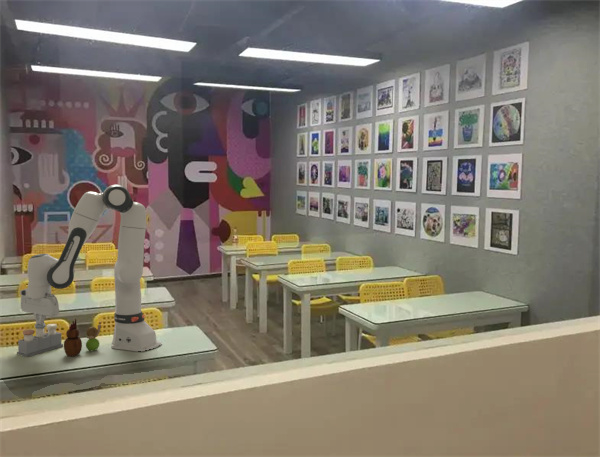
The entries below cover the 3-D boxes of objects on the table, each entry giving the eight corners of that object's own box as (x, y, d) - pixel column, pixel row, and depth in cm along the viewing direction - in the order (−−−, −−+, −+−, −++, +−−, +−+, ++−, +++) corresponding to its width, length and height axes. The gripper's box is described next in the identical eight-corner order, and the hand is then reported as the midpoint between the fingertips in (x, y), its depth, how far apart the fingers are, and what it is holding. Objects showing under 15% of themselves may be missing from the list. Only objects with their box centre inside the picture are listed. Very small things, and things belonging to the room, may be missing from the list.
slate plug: (47, 342, 221) (47, 323, 220) (39, 344, 217) (39, 325, 217) (41, 340, 223) (41, 322, 222) (33, 343, 219) (32, 324, 219)
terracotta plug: (36, 349, 216) (35, 330, 216) (27, 351, 213) (26, 332, 212) (29, 347, 218) (29, 329, 217) (21, 350, 215) (20, 331, 214)
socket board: (63, 346, 226) (62, 333, 226) (27, 357, 211) (27, 342, 211) (52, 344, 229) (52, 330, 229) (16, 354, 215) (16, 340, 214)
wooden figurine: (77, 351, 219) (76, 317, 218) (84, 354, 216) (83, 319, 215) (61, 355, 214) (61, 320, 213) (68, 358, 211) (67, 322, 209)
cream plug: (58, 342, 226) (58, 324, 225) (50, 344, 222) (50, 326, 222) (52, 341, 228) (52, 323, 227) (44, 343, 224) (44, 325, 224)
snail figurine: (103, 350, 222) (103, 322, 222) (89, 353, 218) (88, 325, 217) (98, 347, 226) (98, 320, 225) (83, 350, 222) (83, 322, 221)
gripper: (62, 293, 217) (63, 325, 218) (31, 288, 226) (31, 319, 227) (49, 296, 211) (49, 329, 212) (17, 290, 220) (18, 322, 221)
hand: (40, 324), depth 220 cm, fingers closed, pressing on slate plug
